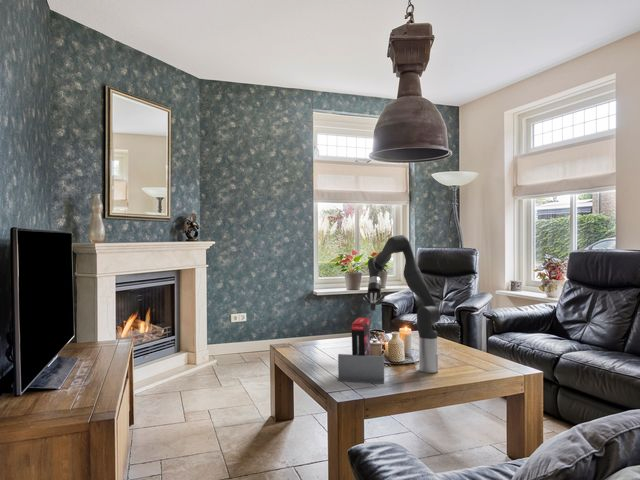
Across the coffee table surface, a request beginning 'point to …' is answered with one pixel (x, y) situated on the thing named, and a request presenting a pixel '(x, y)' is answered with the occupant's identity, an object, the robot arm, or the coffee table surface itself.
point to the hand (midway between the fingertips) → (372, 310)
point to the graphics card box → (361, 336)
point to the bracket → (361, 368)
